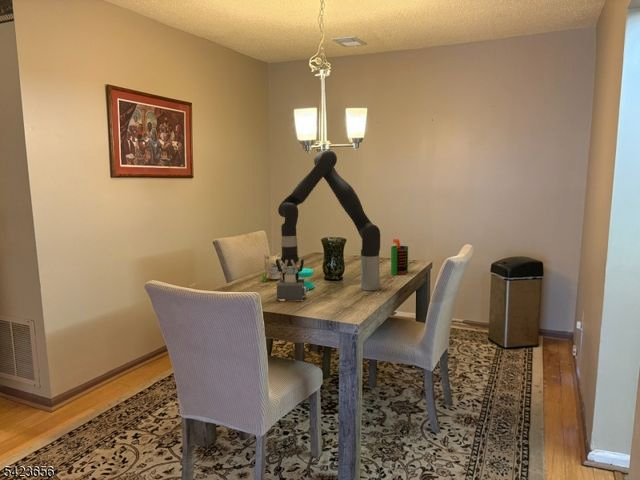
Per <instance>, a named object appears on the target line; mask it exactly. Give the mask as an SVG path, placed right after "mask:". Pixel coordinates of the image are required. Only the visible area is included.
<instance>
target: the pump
mask: <svg viewBox="0 0 640 480" xmlns="http://www.w3.org/2000/svg"><path fill="white" fill-rule="evenodd" d="M285 272H286V274H285V283H296V282H297V280H296V275H295V269H294V267H293V266H287V268H286V271H285Z"/></svg>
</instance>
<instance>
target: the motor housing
mask: <svg viewBox="0 0 640 480" xmlns="http://www.w3.org/2000/svg"><path fill="white" fill-rule="evenodd" d="M304 281H305V278H299V279H298V280H297V282H296V283H285V281H284V279H283V278H281V279H280V280H279V282H276V300H277V299H285V300H304V299H305V297H306V296H307V293H308V290H307V288H306V287H305V282H304ZM304 296H305V297H304ZM303 298H304V299H303Z"/></svg>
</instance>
